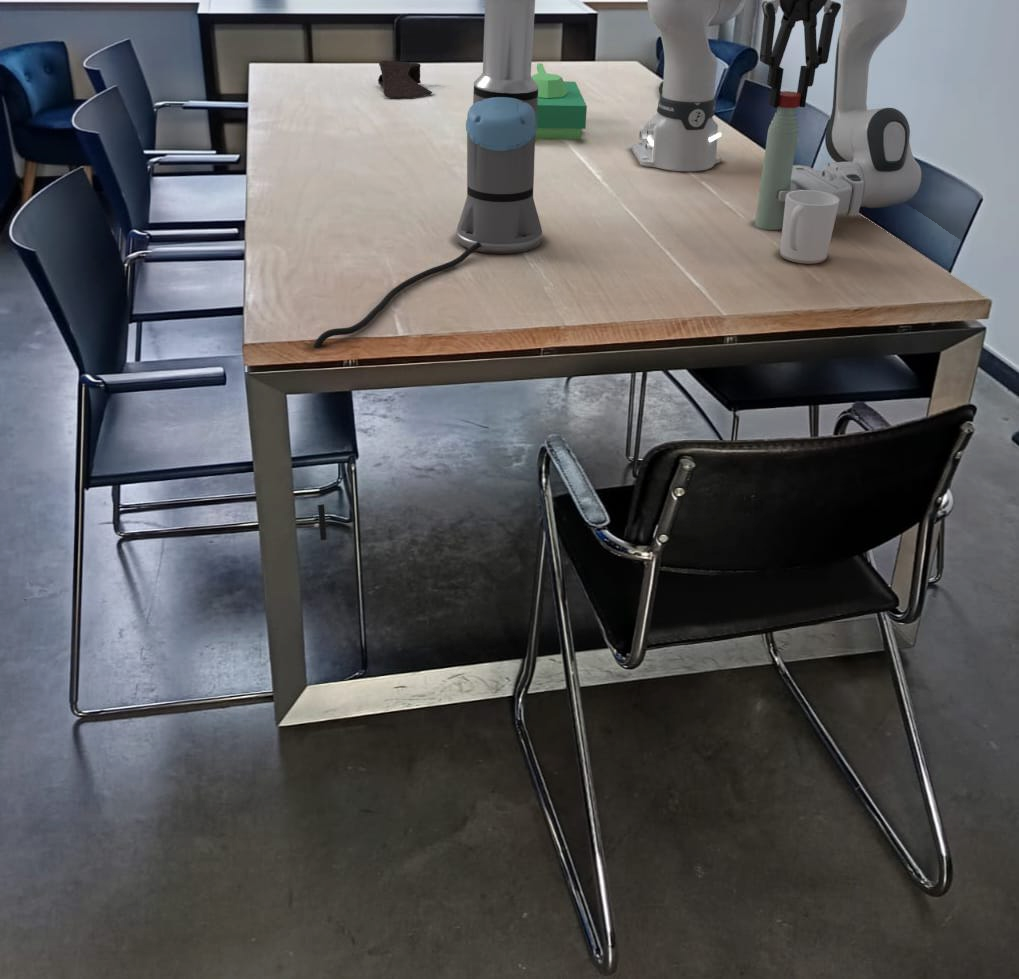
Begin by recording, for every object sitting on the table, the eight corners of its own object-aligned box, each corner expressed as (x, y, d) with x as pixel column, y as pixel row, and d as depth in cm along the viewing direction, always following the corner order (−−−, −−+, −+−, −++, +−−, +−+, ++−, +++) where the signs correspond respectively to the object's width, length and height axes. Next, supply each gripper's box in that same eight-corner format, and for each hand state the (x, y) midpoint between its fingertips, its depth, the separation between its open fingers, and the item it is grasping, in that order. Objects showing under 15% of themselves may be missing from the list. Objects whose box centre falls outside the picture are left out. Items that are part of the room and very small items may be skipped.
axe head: (443, 87, 294) (392, 77, 287) (436, 115, 299) (385, 106, 292) (421, 62, 307) (371, 52, 300) (414, 89, 311) (365, 80, 304)
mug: (791, 244, 197) (800, 186, 191) (837, 255, 192) (848, 197, 187) (762, 259, 190) (770, 200, 184) (809, 271, 185) (819, 211, 179)
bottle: (762, 230, 204) (780, 101, 191) (750, 221, 208) (767, 94, 196) (788, 229, 205) (808, 100, 192) (776, 220, 209) (794, 94, 197)
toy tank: (573, 59, 279) (587, 89, 249) (570, 109, 285) (584, 143, 255) (503, 58, 278) (510, 87, 248) (502, 108, 284) (508, 142, 254)
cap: (775, 101, 197) (777, 90, 196) (800, 103, 196) (802, 92, 195) (772, 106, 194) (774, 95, 193) (798, 109, 192) (800, 97, 191)
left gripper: (766, -37, 178) (747, 111, 190) (866, -37, 181) (841, 109, 193) (750, -42, 185) (733, 101, 197) (847, -42, 187) (824, 100, 199)
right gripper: (813, 155, 213) (748, 158, 209) (868, 184, 196) (798, 188, 193) (808, 187, 216) (743, 191, 213) (861, 219, 199) (792, 223, 196)
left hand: (786, 105), depth 195 cm, fingers closed on cap, 4 cm apart
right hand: (770, 190), depth 203 cm, fingers closed on bottle, 5 cm apart
